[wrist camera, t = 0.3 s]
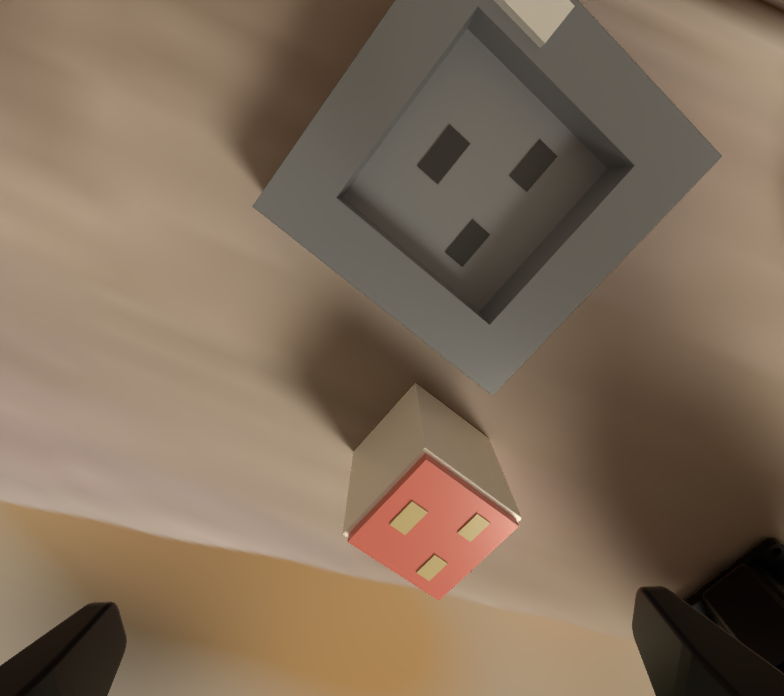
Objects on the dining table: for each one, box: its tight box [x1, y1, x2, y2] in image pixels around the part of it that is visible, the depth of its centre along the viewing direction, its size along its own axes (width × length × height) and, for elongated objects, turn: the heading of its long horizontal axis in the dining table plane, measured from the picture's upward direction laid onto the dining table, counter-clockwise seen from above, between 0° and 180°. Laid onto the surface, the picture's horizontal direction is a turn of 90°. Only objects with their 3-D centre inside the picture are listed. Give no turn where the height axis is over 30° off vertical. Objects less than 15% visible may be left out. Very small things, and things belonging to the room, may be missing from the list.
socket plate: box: [252, 0, 722, 395], centre depth 17 cm, size 11×11×3 cm
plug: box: [343, 383, 522, 600], centre depth 19 cm, size 4×4×6 cm
